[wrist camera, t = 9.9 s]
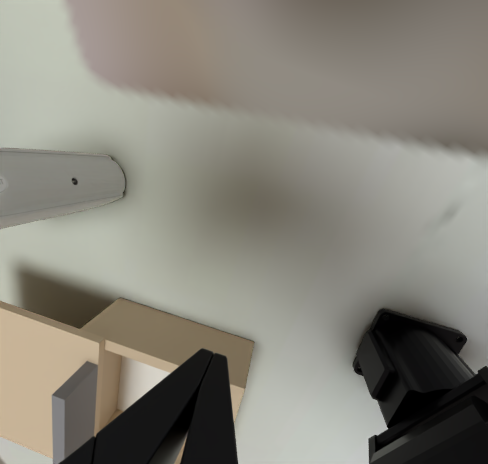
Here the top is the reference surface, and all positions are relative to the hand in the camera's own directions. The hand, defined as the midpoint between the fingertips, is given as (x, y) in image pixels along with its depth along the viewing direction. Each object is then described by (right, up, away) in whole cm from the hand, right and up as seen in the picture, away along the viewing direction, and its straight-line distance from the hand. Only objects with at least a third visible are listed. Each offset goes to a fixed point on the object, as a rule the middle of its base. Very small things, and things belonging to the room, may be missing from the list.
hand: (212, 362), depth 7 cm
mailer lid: (-19, -10, +15) cm, 26 cm away
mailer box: (-7, -12, +18) cm, 23 cm away
